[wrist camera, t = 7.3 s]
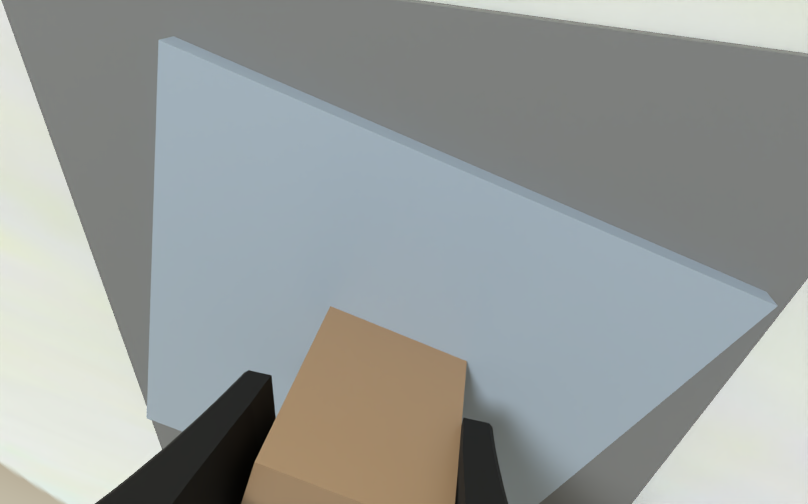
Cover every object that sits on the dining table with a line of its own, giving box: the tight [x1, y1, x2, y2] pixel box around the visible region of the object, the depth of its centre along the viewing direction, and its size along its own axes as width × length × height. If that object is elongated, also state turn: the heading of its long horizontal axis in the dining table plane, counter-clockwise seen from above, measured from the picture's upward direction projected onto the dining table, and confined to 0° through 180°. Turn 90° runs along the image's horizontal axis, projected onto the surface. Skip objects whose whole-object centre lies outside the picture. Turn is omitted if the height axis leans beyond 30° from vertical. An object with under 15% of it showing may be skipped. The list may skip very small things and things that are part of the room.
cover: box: [147, 36, 777, 504], centre depth 12 cm, size 14×14×5 cm
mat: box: [2, 0, 808, 504], centre depth 13 cm, size 18×18×1 cm
